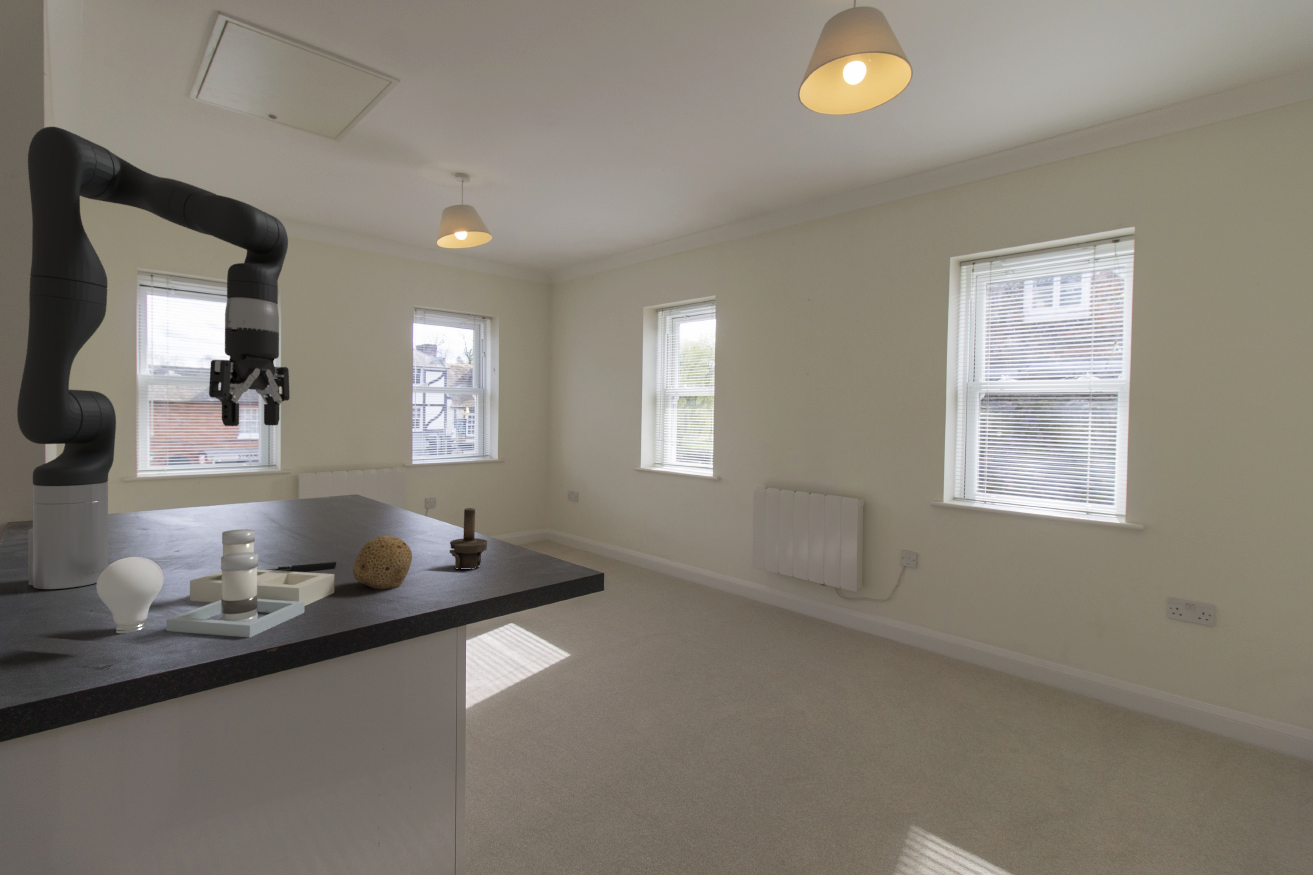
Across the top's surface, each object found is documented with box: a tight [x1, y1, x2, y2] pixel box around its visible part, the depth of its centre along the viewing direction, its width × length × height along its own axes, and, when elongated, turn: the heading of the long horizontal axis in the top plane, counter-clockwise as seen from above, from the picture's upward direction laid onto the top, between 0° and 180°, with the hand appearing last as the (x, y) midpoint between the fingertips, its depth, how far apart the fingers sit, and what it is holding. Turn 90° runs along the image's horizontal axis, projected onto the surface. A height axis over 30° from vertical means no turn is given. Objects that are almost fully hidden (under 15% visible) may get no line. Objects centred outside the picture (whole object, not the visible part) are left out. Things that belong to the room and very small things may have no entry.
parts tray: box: [165, 599, 305, 638], centre depth 82 cm, size 12×10×3 cm
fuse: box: [221, 528, 256, 556], centre depth 94 cm, size 4×4×10 cm
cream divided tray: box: [189, 568, 335, 607], centre depth 93 cm, size 18×8×4 cm, turn 83°
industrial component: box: [449, 507, 488, 569], centre depth 120 cm, size 9×7×12 cm
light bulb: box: [95, 556, 165, 634], centre depth 78 cm, size 7×7×11 cm
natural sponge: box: [352, 535, 413, 590], centre depth 101 cm, size 9×9×10 cm
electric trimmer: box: [266, 561, 337, 573], centre depth 107 cm, size 4×16×3 cm, turn 123°
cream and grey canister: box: [220, 552, 259, 622], centre depth 82 cm, size 4×4×10 cm
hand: (251, 425), depth 100 cm, fingers open, 8 cm apart
